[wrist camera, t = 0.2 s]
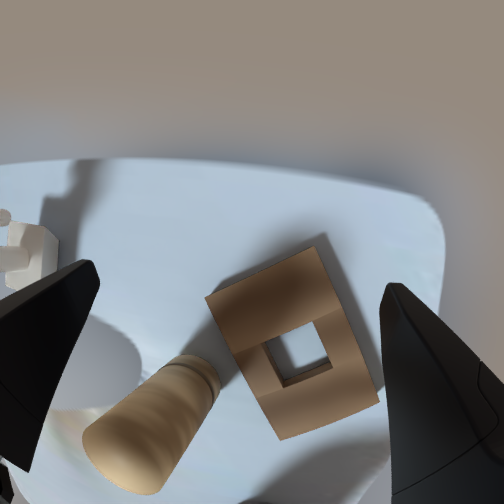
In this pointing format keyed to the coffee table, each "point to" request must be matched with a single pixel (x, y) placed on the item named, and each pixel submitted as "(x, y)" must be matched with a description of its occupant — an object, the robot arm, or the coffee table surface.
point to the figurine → (27, 252)
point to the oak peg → (153, 425)
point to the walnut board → (284, 320)
